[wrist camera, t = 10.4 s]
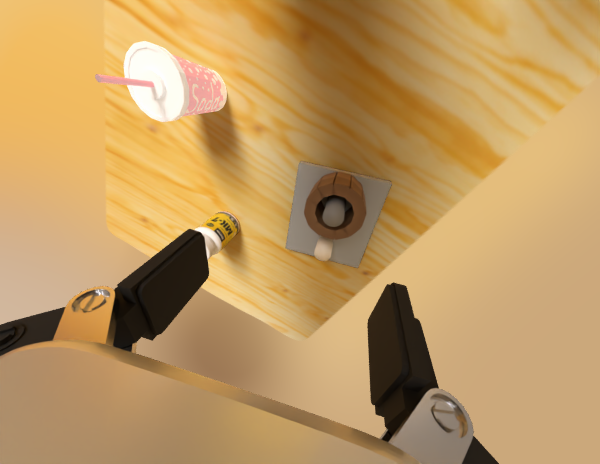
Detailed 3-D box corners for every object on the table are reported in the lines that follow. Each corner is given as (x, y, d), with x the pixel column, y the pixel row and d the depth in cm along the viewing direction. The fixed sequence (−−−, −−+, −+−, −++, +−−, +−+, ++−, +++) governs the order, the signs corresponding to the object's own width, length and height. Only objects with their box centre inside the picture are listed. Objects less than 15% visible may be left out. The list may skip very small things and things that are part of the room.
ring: (317, 166, 28) (310, 177, 23) (371, 179, 27) (374, 192, 23) (307, 214, 31) (300, 231, 27) (355, 226, 31) (355, 245, 26)
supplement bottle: (245, 223, 36) (218, 252, 29) (232, 239, 39) (204, 269, 32) (222, 204, 35) (188, 229, 28) (210, 222, 38) (176, 248, 31)
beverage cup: (214, 128, 30) (118, 142, 18) (180, 87, 28) (50, 72, 16) (242, 94, 27) (150, 84, 15) (205, 46, 25) (71, -8, 13)
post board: (300, 160, 29) (286, 175, 23) (390, 181, 28) (399, 201, 22) (287, 244, 36) (273, 271, 30) (357, 263, 35) (357, 296, 29)
